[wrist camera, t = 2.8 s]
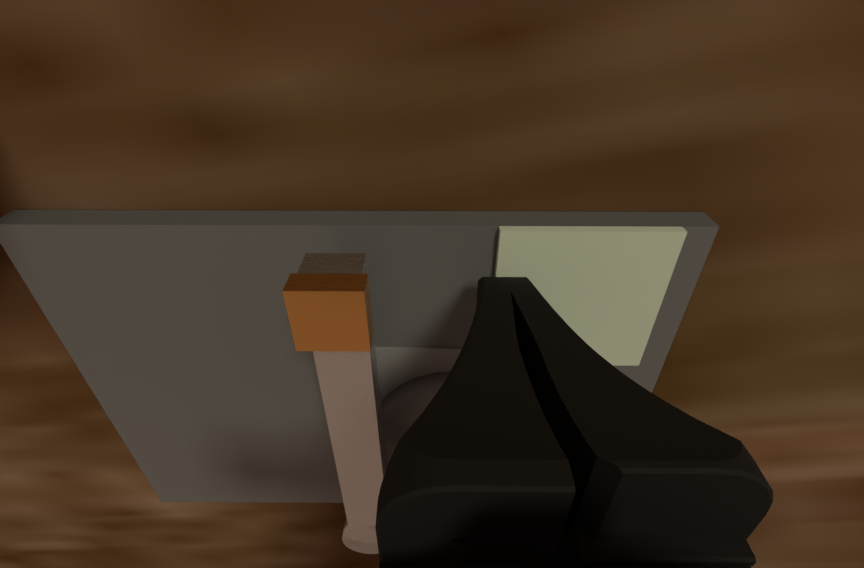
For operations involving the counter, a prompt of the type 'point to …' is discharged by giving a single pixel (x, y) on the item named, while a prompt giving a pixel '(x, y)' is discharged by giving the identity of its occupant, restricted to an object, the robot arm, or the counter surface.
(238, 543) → the counter surface
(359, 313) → the rod with orange cap
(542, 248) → the pad
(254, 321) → the board
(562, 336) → the robot arm
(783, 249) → the counter surface
